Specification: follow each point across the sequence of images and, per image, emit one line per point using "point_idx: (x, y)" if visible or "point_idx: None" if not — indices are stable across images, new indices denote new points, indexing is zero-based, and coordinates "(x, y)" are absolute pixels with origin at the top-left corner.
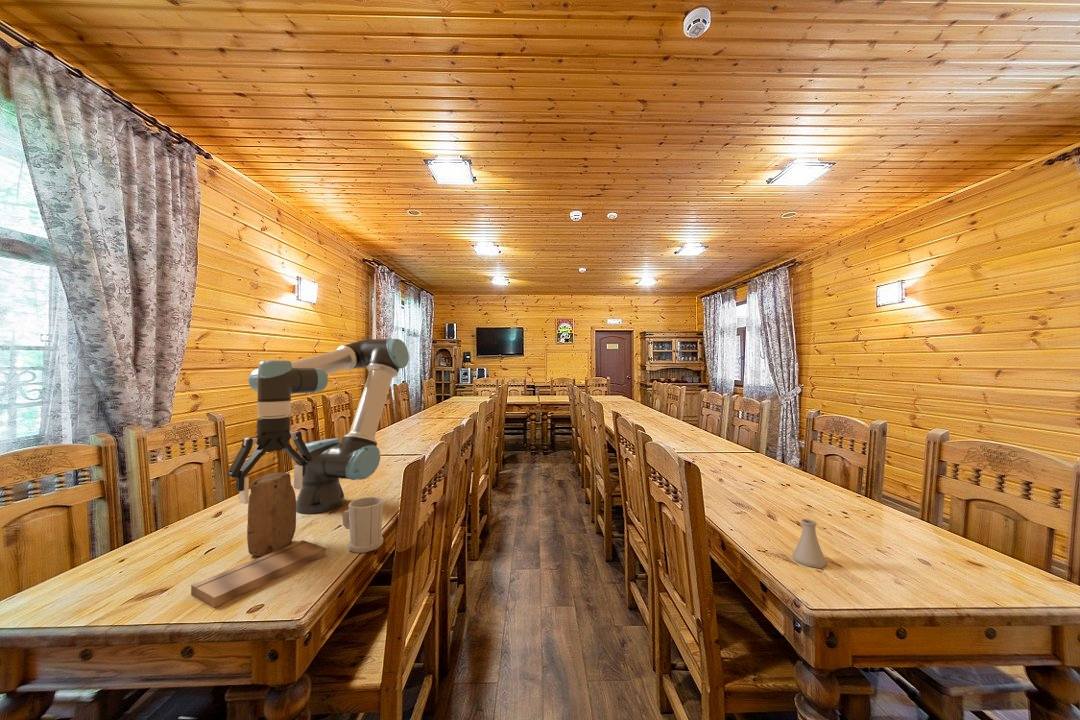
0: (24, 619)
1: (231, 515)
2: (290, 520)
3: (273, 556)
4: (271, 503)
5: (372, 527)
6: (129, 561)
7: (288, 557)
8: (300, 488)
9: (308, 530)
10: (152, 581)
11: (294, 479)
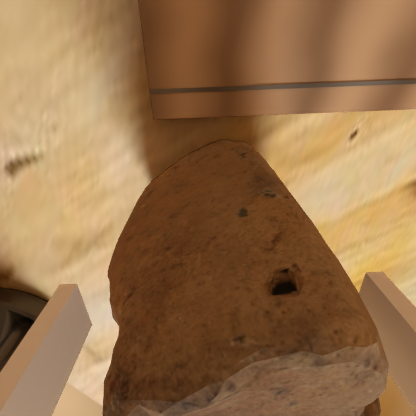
0: None
1: None
2: (164, 188)
3: (265, 79)
4: (287, 201)
5: None
6: None
7: (250, 14)
8: (68, 286)
9: (96, 215)
10: (396, 240)
11: (66, 375)
